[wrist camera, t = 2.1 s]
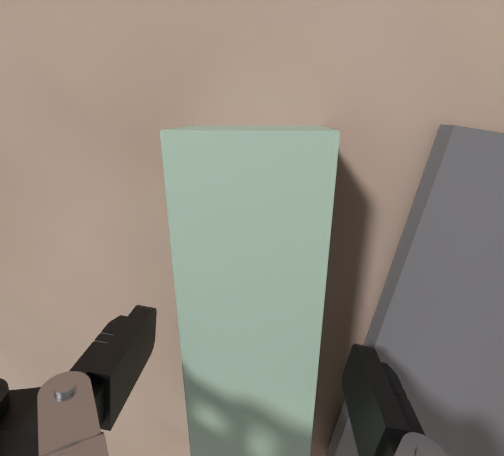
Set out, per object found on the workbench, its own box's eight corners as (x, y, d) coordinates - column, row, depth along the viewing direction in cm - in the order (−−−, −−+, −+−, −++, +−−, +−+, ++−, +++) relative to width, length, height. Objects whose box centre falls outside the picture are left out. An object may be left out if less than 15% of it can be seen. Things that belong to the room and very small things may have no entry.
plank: (194, 125, 13) (159, 130, 9) (321, 125, 12) (340, 131, 8) (211, 417, 18) (194, 496, 14) (299, 423, 18) (305, 506, 14)
